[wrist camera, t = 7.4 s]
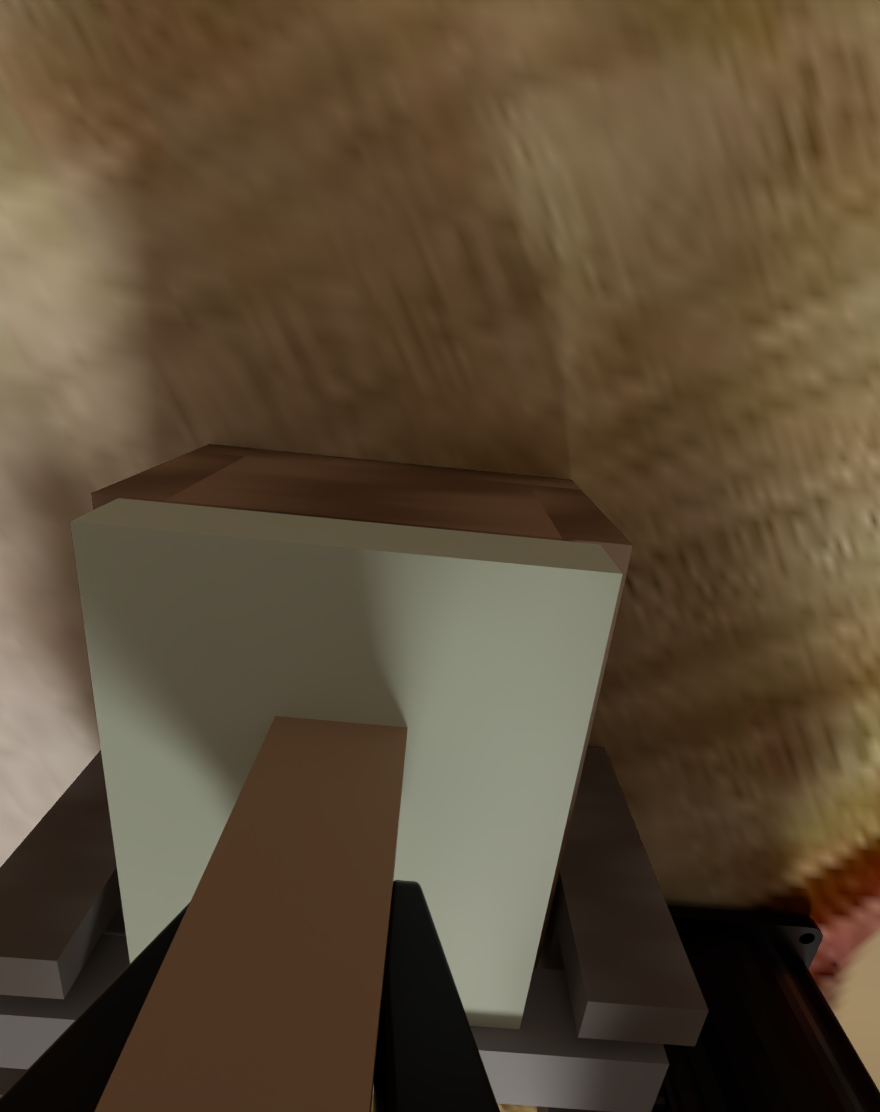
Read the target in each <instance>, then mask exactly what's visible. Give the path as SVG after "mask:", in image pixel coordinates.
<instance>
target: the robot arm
mask: <svg viewBox="0 0 880 1112" xmlns="http://www.w3.org/2000/svg"><path fill="white" fill-rule="evenodd" d="M190 902H191V901H190ZM190 902H189V903H188V905H187V906H186V907H185V908H184V909H183V910H182V911H181V912H180V913H179V914H178V915H177V916H176V917H175V918H174V919H173V920H172V921H171V922H170V923H169V924H168V925H167V926H166V927H165V928H164V929H163V930H162V931H161V932H160V933H159V934H158V935H157V936H156V938H155V939H154V940H153V941H152V942H151V943H150V944H149V945H148V946H147V947H146V948H145V949H144V950H143V951H142V952H141V953H140V954H139V955H138V956H137V957H136V958H135V959H134V960H133V961H132V962H131V963H130V964H129V965H128V966H127V967H126V968H125V969H124V971H123V972H122V973H121V974H120V975H119V976H118V977H117V978H116V979H115V980H114V981H113V982H112V983H111V984H110V985H109V986H108V987H107V988H106V989H105V990H104V991H103V992H102V993H101V994H100V995H99V996H98V997H97V998H96V999H95V1000H94V1001H93V1002H92V1003H91V1005H90V1006H89V1007H88V1008H87V1009H86V1010H85V1011H84V1012H83V1013H82V1014H81V1015H80V1016H79V1017H78V1018H77V1019H76V1020H75V1021H74V1022H73V1023H72V1024H71V1025H70V1026H69V1027H68V1028H67V1029H66V1030H65V1031H64V1032H63V1033H62V1034H61V1035H60V1036H59V1038H58V1039H57V1040H56V1041H55V1042H54V1043H53V1044H52V1045H51V1046H50V1047H49V1048H48V1049H47V1050H46V1051H45V1052H44V1053H43V1054H42V1055H41V1056H40V1057H39V1058H38V1059H37V1060H36V1061H35V1062H34V1063H33V1064H32V1065H31V1066H30V1067H29V1068H28V1069H27V1071H26V1072H25V1073H24V1074H23V1075H22V1076H21V1077H20V1078H19V1079H18V1080H17V1081H16V1082H15V1083H14V1084H13V1085H12V1086H11V1087H10V1088H9V1089H8V1090H7V1091H6V1092H5V1093H4V1094H3V1095H2V1096H1V1097H0V1112H95V1110H96V1107H97V1105H98V1103H99V1101H100V1099H101V1096H102V1094H103V1092H104V1090H105V1088H106V1085H107V1083H108V1081H109V1079H110V1077H111V1075H112V1072H113V1070H114V1068H115V1066H116V1064H117V1061H118V1059H119V1057H120V1055H121V1053H122V1050H123V1048H124V1046H125V1044H126V1042H127V1039H128V1037H129V1035H130V1033H131V1031H132V1029H133V1026H134V1024H135V1022H136V1020H137V1018H138V1015H139V1013H140V1011H141V1009H142V1007H143V1004H144V1002H145V1000H146V998H147V996H148V994H149V991H150V989H151V987H152V985H153V983H154V980H155V978H156V976H157V974H158V972H159V969H160V967H161V965H162V963H163V961H164V958H165V956H166V954H167V952H168V950H169V948H170V945H171V943H172V941H173V939H174V937H175V934H176V932H177V930H178V928H179V926H180V923H181V921H182V919H183V917H184V915H185V913H186V910H187V908H188V906H189V904H190ZM667 907H668V909H669V912H670V914H671V917H672V919H673V922H674V924H675V927H676V929H677V932H678V934H679V937H680V939H681V942H682V944H683V947H684V949H685V952H686V955H687V957H688V960H689V962H690V965H691V967H692V970H693V972H694V975H695V977H696V980H697V982H698V985H699V987H700V990H701V992H702V995H703V997H704V1000H705V1002H706V1005H707V1007H708V1010H709V1011H708V1014H707V1017H706V1019H705V1022H704V1024H703V1027H702V1029H701V1032H700V1035H699V1037H698V1040H697V1042H696V1045H695V1046H683V1045H670V1044H663V1046H664V1049H665V1052H666V1055H667V1059H668V1062H669V1066H668V1069H667V1072H666V1074H665V1077H664V1080H663V1082H662V1085H661V1087H660V1090H659V1093H658V1095H657V1098H656V1100H655V1103H654V1106H653V1108H652V1111H651V1112H880V1092H879V1090H878V1088H877V1087H876V1085H875V1083H874V1082H873V1080H872V1078H871V1076H870V1075H869V1073H868V1071H867V1069H866V1068H865V1066H864V1064H863V1063H862V1061H861V1059H860V1057H859V1056H858V1054H857V1052H856V1051H855V1049H854V1047H853V1045H852V1044H851V1042H850V1040H849V1039H848V1037H847V1035H846V1033H845V1032H844V1030H843V1028H842V1026H841V1025H840V1023H839V1021H838V1020H837V1018H836V1016H835V1014H834V1013H833V1011H832V1009H831V1008H830V1006H829V1004H828V1002H827V1001H826V999H825V997H824V996H823V994H822V992H821V990H820V989H819V987H818V985H817V984H816V982H815V980H814V978H813V977H812V975H811V973H810V972H809V970H808V969H809V967H810V965H811V963H812V960H813V958H814V956H815V954H816V952H817V950H818V947H819V945H820V943H821V941H822V937H823V935H822V933H821V931H820V929H819V928H818V926H817V925H816V923H815V922H814V920H813V919H811V918H809V917H805V916H794V915H781V914H769V913H756V912H744V911H732V910H719V909H707V908H695V907H682V906H670V905H667ZM374 1112H500V1110H499V1107H498V1104H497V1102H496V1099H495V1096H494V1093H493V1090H492V1087H491V1084H490V1082H489V1079H488V1076H487V1073H486V1070H485V1067H484V1064H483V1062H482V1059H481V1056H480V1053H479V1050H478V1047H477V1045H476V1042H475V1039H474V1036H473V1033H472V1030H471V1027H470V1025H469V1022H468V1019H467V1016H466V1013H465V1010H464V1007H463V1005H462V1002H461V999H460V996H459V993H458V990H457V987H456V985H455V982H454V979H453V976H452V973H451V970H450V967H449V965H448V962H447V959H446V956H445V953H444V950H443V947H442V945H441V942H440V939H439V936H438V933H437V930H436V928H435V925H434V922H433V919H432V916H431V913H430V910H429V908H428V905H427V902H426V899H425V896H424V893H423V890H422V888H421V886H420V884H419V883H418V882H416V881H405V880H395V881H393V886H392V896H391V906H390V916H389V926H388V936H387V946H386V956H385V966H384V976H383V986H382V997H381V1008H380V1018H379V1029H378V1040H377V1051H376V1062H375V1073H374Z"/></svg>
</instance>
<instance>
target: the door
mask: <svg viewBox="0 0 880 1112" xmlns="http://www.w3.org/2000/svg"><path fill="white" fill-rule="evenodd" d="M70 527H71V534H72V541H73V549H74V556H75V563H76V571H77V578H78V585H79V593H80V600H81V607H82V615H83V622H84V629H85V637H86V644H87V651H88V659H89V666H90V673H91V681H92V688H93V696H94V703H95V710H96V718H97V725H98V732H99V740H100V747H101V754H102V762H103V769H104V776H105V784H106V791H107V798H108V806H109V813H110V820H111V828H112V835H113V842H114V850H115V857H116V864H117V872H118V879H119V887H120V894H121V901H122V909H123V916H124V923H125V931H126V936H119V935H106V934H102V935H101V937H100V939H99V940H98V942H97V944H96V946H95V947H94V949H93V951H92V952H91V954H90V956H89V958H88V959H87V961H86V963H85V964H84V966H83V968H82V970H81V971H80V973H79V975H78V976H77V978H76V980H75V982H74V983H73V985H72V987H71V988H70V990H69V992H68V994H67V995H66V997H65V999H53V998H39V997H26V996H12V995H0V1067H2V1068H16V1069H28V1068H29V1067H30V1066H31V1065H32V1064H33V1063H34V1062H35V1061H36V1060H37V1059H38V1058H39V1057H40V1056H41V1055H42V1054H43V1053H44V1052H45V1051H46V1050H47V1049H48V1048H49V1047H50V1046H51V1045H52V1044H53V1043H54V1042H55V1041H56V1040H57V1039H58V1038H59V1036H60V1035H61V1034H62V1033H63V1032H64V1031H65V1030H66V1029H67V1028H68V1027H69V1026H70V1025H71V1024H72V1023H73V1022H74V1021H75V1020H76V1019H77V1018H78V1017H79V1016H80V1015H81V1014H82V1013H83V1012H84V1011H85V1010H86V1009H87V1008H88V1007H89V1006H90V1005H91V1003H92V1002H93V1001H94V1000H95V999H96V998H97V997H98V996H99V995H100V994H101V993H102V992H103V991H104V990H105V989H106V988H107V987H108V986H109V985H110V984H111V983H112V982H113V981H114V980H115V979H116V978H117V977H118V976H119V975H120V974H121V973H122V972H123V971H124V969H125V968H126V967H127V966H128V965H129V964H130V963H131V962H132V961H133V960H134V959H135V958H136V957H137V956H138V955H139V954H140V953H141V952H142V951H143V950H144V949H145V948H146V947H147V946H148V945H149V944H150V943H151V942H152V941H153V940H154V939H155V938H156V936H157V935H158V934H159V933H160V932H161V931H162V930H163V929H164V928H165V927H166V926H167V925H168V924H169V923H170V922H171V921H172V920H173V919H174V918H175V917H176V916H177V915H178V914H179V913H180V912H181V911H182V910H183V909H184V908H185V907H186V906H187V905H188V903H189V902H190V901H191V902H190V904H189V906H188V908H187V910H186V913H185V915H184V917H183V919H182V921H181V923H180V926H179V928H178V930H177V932H176V934H175V937H174V939H173V941H172V943H171V945H170V948H169V950H168V952H167V954H166V956H165V958H164V961H163V963H162V965H161V967H160V969H159V972H158V974H157V976H156V978H155V980H154V983H153V985H152V987H151V989H150V991H149V994H148V996H147V998H146V1000H145V1002H144V1004H143V1007H142V1009H141V1011H140V1013H139V1015H138V1018H137V1020H136V1022H135V1024H134V1026H133V1029H132V1031H131V1033H130V1035H129V1037H128V1039H127V1042H126V1044H125V1046H124V1048H123V1050H122V1053H121V1055H120V1057H119V1059H118V1061H117V1064H116V1066H115V1068H114V1070H113V1072H112V1075H111V1077H110V1079H109V1081H108V1083H107V1085H106V1088H105V1090H104V1092H103V1094H102V1096H101V1099H100V1101H99V1103H98V1105H97V1107H96V1110H95V1112H371V1106H372V1096H373V1094H374V1073H375V1062H376V1051H377V1040H378V1029H379V1018H380V1008H381V997H382V986H383V976H384V966H385V956H386V946H387V936H388V926H389V916H390V906H391V896H392V886H393V881H395V880H405V881H416V882H418V883H419V884H420V886H421V888H422V890H423V893H424V896H425V899H426V902H427V905H428V908H429V910H430V913H431V916H432V919H433V922H434V925H435V928H436V930H437V933H438V936H439V939H440V942H441V945H442V947H443V950H444V953H445V956H446V959H447V962H448V965H449V967H450V970H451V973H452V976H453V979H454V982H455V985H456V987H457V990H458V993H459V996H460V999H461V1002H462V1005H463V1007H464V1010H465V1013H466V1016H467V1019H468V1022H469V1025H470V1027H471V1030H472V1033H473V1036H474V1039H475V1042H476V1045H477V1047H478V1050H479V1053H480V1056H481V1059H482V1062H483V1064H484V1067H485V1070H486V1073H487V1076H488V1079H489V1082H490V1084H491V1087H492V1090H493V1093H494V1096H495V1099H496V1102H497V1103H499V1104H513V1105H526V1106H540V1107H554V1108H568V1109H582V1110H595V1111H609V1112H651V1111H652V1108H653V1106H654V1103H655V1100H656V1098H657V1095H658V1093H659V1090H660V1087H661V1085H662V1082H663V1080H664V1077H665V1074H666V1072H667V1069H668V1066H669V1062H668V1059H667V1055H666V1052H665V1049H664V1046H663V1044H656V1043H643V1042H630V1041H616V1040H603V1039H589V1038H578V1035H577V1030H576V1025H575V1020H574V1015H573V1009H572V1004H571V999H570V994H569V988H568V983H567V978H566V973H565V970H554V969H541V968H534V963H535V959H536V954H537V950H538V946H539V941H540V937H541V932H542V928H543V923H544V919H545V915H546V910H547V906H548V901H549V897H550V893H551V888H552V884H553V879H554V875H555V870H556V866H557V862H558V857H559V853H560V848H561V844H562V840H563V835H564V831H565V826H566V822H567V817H568V813H569V809H570V804H571V800H572V795H573V791H574V787H575V782H576V778H577V773H578V769H579V765H580V760H581V756H582V751H583V747H584V742H585V738H586V734H587V729H588V725H589V720H590V716H591V712H592V707H593V703H594V698H595V694H596V689H597V685H598V681H599V676H600V672H601V667H602V663H603V659H604V654H605V650H606V645H607V641H608V636H609V632H610V628H611V623H612V619H613V614H614V610H615V606H616V601H617V597H618V592H619V588H620V583H621V579H622V575H623V574H622V572H621V571H620V570H619V568H618V567H617V566H616V564H615V563H614V562H613V560H612V559H611V558H610V556H609V555H608V554H607V552H606V551H605V550H604V548H603V547H602V546H601V544H591V543H580V542H570V541H560V540H549V539H539V538H528V537H518V536H508V535H497V534H487V533H476V532H466V531H456V530H445V529H435V528H424V527H414V526H403V525H393V524H383V523H372V522H362V521H351V520H341V519H331V518H320V517H310V516H299V515H289V514H279V513H268V512H258V511H247V510H237V509H227V508H216V507H206V506H195V505H185V504H174V503H164V502H154V501H143V500H133V499H122V498H118V499H116V500H113V501H111V502H109V503H107V504H105V505H103V506H101V507H99V508H97V509H95V510H93V511H91V512H88V513H86V514H84V515H82V516H80V517H78V518H76V519H74V520H72V521H70Z"/></svg>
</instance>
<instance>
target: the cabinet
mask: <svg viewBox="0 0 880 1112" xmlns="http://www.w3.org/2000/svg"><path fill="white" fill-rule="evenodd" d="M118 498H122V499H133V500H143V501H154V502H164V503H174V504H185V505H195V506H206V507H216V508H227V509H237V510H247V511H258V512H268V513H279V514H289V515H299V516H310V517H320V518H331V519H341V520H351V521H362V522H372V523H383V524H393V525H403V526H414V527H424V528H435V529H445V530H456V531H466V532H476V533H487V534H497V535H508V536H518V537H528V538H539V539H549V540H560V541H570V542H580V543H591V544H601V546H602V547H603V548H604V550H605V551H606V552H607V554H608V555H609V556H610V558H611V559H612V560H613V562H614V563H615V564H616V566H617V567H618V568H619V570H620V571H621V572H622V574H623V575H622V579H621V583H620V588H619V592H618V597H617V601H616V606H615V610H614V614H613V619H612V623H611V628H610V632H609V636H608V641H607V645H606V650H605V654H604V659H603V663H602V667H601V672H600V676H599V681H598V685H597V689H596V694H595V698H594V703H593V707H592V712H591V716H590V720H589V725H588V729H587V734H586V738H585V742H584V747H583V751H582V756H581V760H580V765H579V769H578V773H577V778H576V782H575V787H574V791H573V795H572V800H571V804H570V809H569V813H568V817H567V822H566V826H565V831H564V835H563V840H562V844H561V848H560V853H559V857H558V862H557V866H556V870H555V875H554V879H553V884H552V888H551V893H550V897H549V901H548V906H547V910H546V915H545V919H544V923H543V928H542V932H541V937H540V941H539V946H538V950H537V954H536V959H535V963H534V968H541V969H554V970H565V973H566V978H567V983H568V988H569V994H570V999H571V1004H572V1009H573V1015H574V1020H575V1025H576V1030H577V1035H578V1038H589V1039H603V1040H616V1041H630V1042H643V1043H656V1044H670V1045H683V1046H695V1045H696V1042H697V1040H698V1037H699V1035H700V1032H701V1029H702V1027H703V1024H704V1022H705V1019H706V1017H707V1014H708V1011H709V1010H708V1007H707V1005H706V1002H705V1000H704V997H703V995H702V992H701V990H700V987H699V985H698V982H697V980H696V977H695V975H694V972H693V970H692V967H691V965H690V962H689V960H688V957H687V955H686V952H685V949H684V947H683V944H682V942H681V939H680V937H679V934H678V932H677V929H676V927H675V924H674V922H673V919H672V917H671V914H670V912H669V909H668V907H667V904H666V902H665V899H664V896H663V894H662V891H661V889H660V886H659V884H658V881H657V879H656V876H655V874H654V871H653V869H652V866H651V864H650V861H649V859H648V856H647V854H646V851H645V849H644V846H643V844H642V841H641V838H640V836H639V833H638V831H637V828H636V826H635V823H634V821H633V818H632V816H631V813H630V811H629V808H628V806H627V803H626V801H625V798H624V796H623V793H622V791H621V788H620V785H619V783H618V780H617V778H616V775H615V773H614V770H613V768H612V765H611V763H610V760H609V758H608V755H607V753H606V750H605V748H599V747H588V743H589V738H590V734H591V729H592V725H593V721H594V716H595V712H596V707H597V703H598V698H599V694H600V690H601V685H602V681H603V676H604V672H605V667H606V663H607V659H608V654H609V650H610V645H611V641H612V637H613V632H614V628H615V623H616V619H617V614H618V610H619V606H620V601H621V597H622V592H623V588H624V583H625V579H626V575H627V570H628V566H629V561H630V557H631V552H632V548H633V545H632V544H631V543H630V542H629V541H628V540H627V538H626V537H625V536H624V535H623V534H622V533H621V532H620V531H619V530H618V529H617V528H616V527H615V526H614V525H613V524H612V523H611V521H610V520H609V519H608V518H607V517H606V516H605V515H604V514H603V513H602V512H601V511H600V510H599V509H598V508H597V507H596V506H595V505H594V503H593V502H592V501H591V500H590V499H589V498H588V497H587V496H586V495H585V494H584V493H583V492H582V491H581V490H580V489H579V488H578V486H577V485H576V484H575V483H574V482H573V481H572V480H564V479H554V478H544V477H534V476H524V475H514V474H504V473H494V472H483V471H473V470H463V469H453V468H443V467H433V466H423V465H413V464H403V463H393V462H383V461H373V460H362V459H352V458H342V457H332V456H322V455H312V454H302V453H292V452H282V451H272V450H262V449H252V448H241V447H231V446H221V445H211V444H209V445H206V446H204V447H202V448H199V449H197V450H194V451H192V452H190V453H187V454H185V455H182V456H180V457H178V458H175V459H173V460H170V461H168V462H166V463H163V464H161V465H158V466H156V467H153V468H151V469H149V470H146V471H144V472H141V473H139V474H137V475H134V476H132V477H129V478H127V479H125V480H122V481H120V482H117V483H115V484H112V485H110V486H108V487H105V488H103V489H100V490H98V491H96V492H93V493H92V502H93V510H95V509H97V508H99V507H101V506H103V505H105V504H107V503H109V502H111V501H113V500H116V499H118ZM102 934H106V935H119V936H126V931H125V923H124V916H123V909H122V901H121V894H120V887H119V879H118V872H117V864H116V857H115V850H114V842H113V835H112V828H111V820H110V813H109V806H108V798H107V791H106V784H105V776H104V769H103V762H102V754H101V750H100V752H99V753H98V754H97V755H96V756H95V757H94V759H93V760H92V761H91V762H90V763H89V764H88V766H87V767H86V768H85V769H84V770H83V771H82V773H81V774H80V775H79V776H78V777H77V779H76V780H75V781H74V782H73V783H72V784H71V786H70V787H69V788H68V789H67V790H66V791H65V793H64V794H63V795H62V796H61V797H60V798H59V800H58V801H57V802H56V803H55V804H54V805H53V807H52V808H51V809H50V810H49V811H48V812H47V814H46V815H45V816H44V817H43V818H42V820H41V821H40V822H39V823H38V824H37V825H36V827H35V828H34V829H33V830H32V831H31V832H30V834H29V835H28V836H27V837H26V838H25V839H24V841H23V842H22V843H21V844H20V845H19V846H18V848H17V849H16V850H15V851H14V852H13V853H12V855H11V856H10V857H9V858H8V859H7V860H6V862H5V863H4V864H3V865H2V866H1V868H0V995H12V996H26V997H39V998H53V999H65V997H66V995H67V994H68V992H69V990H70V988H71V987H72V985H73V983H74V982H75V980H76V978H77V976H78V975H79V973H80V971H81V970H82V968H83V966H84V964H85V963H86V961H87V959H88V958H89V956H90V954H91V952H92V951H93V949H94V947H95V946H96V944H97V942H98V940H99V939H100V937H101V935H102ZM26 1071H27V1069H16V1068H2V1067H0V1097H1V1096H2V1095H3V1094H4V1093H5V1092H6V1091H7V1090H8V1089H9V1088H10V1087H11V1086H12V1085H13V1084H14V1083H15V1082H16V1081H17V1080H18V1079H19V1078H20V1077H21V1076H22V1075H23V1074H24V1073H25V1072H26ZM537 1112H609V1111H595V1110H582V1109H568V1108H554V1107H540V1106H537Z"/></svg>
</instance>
